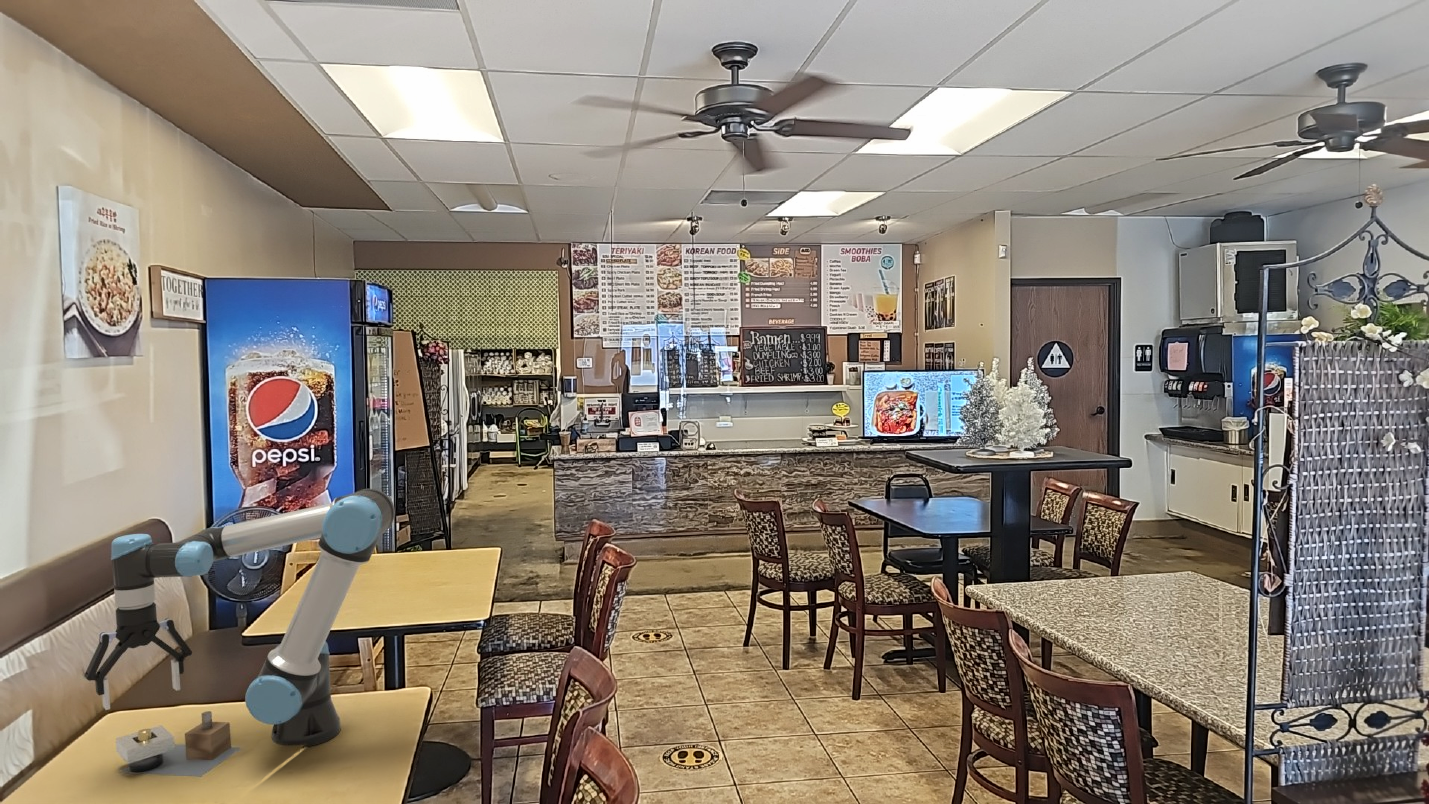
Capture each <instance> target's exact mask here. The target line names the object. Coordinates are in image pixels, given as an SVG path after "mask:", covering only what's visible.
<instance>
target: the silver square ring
mask: <svg viewBox="0 0 1429 804" xmlns="http://www.w3.org/2000/svg"><path fill="white" fill-rule="evenodd" d="M149 729H151V739H149V740H146V741H143V742H139V743H138V731H137V732H134V733H129V734H128V735H127V734H126V735H123V736H120V737H117V738H115V747H116V748H115V749H116V752H117V754H118V756H120V757H121V758H122V759H123V760H124V761H125V762H126V763H127V764H128V765H129V764H130V763H133V762H136V761H139V760H142V759H146V758H149V757H152V756H155V755H158V754H162V753H165V752H168V751H171V750H174V749H175V746H174V744H175V736H174V735H173V734H172V733H171V732H170V731H168V730H167V729H166V727H164V726H163V725H161V724H160V725H157V726H153V727H151V728H150V727H149Z"/></svg>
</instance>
